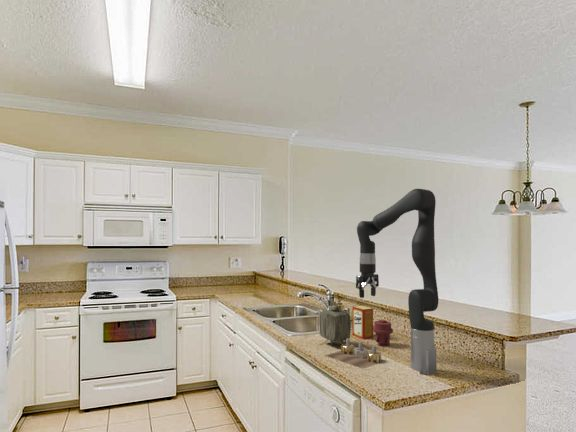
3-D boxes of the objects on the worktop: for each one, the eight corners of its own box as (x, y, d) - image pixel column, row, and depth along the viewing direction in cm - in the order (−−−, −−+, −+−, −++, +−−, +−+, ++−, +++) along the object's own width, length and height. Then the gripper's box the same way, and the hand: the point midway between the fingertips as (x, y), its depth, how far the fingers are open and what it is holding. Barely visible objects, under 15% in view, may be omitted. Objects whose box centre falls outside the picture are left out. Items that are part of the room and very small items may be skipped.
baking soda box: (352, 335, 217) (352, 305, 218) (361, 333, 220) (361, 305, 221) (363, 339, 209) (363, 308, 209) (372, 337, 212) (372, 307, 212)
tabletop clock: (350, 349, 190) (350, 297, 191) (336, 352, 185) (336, 298, 187) (331, 342, 202) (332, 293, 204) (317, 344, 198) (318, 294, 199)
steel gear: (359, 353, 181) (359, 346, 181) (370, 356, 176) (370, 349, 176) (350, 355, 177) (350, 349, 177) (361, 359, 172) (361, 352, 172)
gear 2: (382, 359, 172) (382, 352, 172) (379, 363, 166) (379, 356, 166) (368, 357, 175) (368, 350, 175) (365, 361, 169) (365, 354, 169)
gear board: (386, 363, 170) (386, 345, 171) (362, 371, 160) (362, 352, 160) (347, 351, 187) (347, 335, 187) (324, 357, 177) (324, 341, 177)
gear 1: (357, 352, 182) (357, 341, 182) (348, 355, 178) (348, 344, 178) (347, 349, 186) (347, 338, 186) (338, 351, 182) (338, 341, 182)
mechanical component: (396, 345, 198) (385, 349, 191) (380, 341, 205) (368, 344, 199) (396, 320, 198) (385, 323, 192) (380, 317, 206) (368, 320, 199)
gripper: (370, 261, 195) (370, 294, 194) (351, 262, 186) (351, 297, 185) (383, 262, 189) (383, 296, 188) (364, 263, 180) (364, 299, 179)
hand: (367, 296), depth 187 cm, fingers open, 8 cm apart
